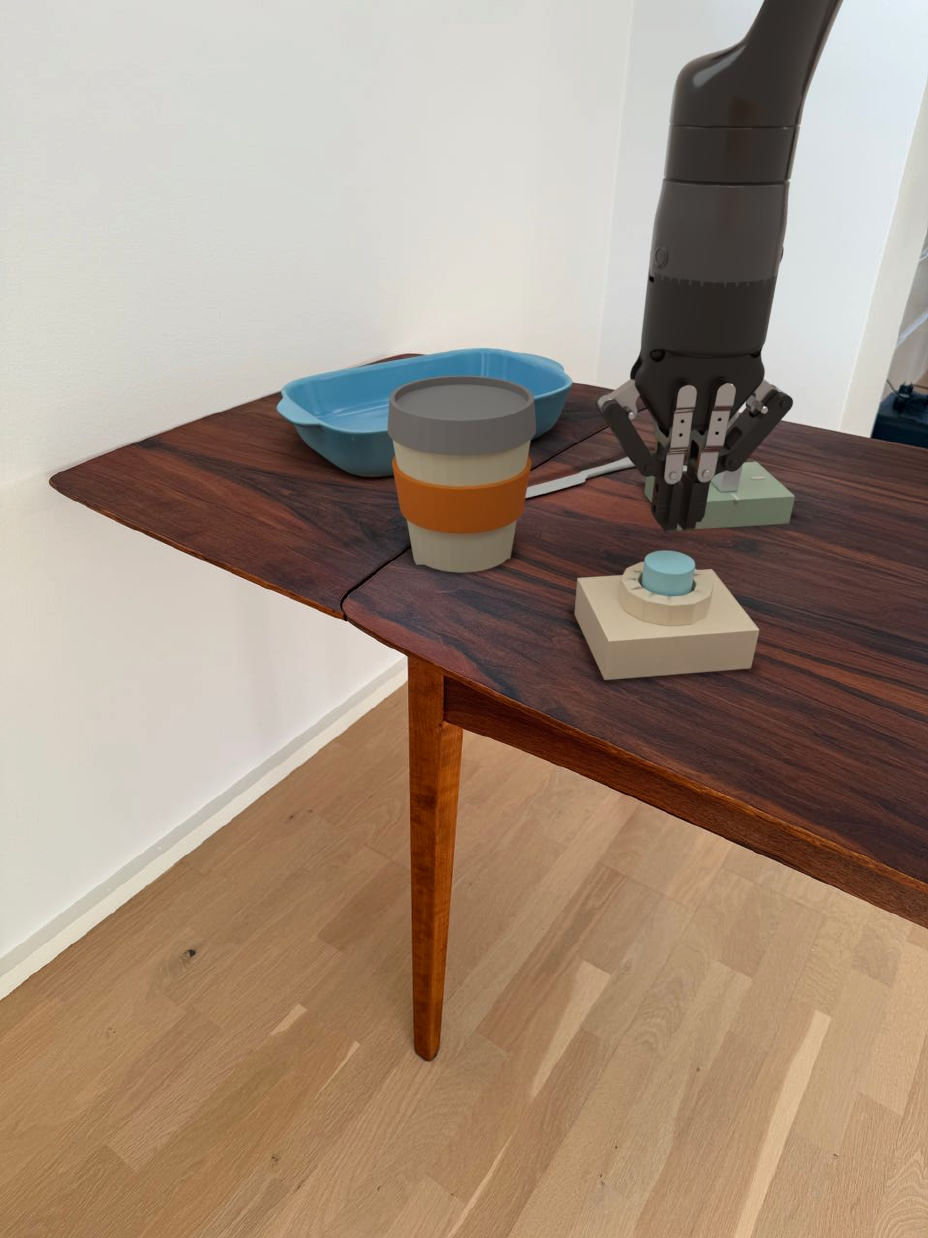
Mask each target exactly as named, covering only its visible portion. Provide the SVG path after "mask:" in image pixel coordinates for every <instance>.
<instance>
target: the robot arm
mask: <svg viewBox="0 0 928 1238" xmlns="http://www.w3.org/2000/svg"><path fill="white" fill-rule="evenodd" d="M762 1H763V2H762V4H761V6H760V7H759V10H758V12H757V15H756V16H755V18H754V20H753V22H752V24H751V25H750V28H749V29H748V31H747V32H746V33H745V35H744V37H743V38H742V39H741V40H740V41H739V42H737V43H734V44H733V45H731V46H729V47H726V48H724V49H721V50H717V51H713V52H711V53H707V54H704V55H701V56H698V57H696V58H694V59H692V60H690V61H689V62H687V63H686V64H684V66H683V67H682V68H681V69H680V71H679V73H678V74H677V77H676V79H675V82H674V85H673V92H672V96H671V103H670V112H669V118H668V119H669V122H668V123H669V125H668V131H667V132H668V133H667V141H666V150H665V159H664V167H663V177H664V178H662V182H661V189H660V192H659V197H658V202H657V205H656V210H655V214H654V219H653V225H652V233H651V234H652V235H651V236H652V237H651V244H650V251H649V252H650V253H649V261H648V262H649V264H648V270H647V271H648V273H647V280H646V281H647V282H646V289H645V300H644V307H643V317H642V318H643V319H642V327H641V337H640V350H639V353H638V356H637V358H636V360H635V362H634V364H633V365H632V367H631V369H630V373H629V379H628V380H627V381H625V382H624V383H623V384H621V385H620V386H618V387H617V388H616V389H614V390H613V391H611V392H608V391H601V392H599V393H598V394H597V395H596V396H595V399H594V405H595V407H596V409H597V410H598V412H599V414H600V415H601V417H602V418H603V420H604V421H605V423H606V424H607V426H608V427H609V429H610V430H611V433H612V434H613V435H614V437H615V438H616V441H617V442H618V443H619V445H620V446H621V448H622V450H623V451H624V453H625V455H626V457H629V459H630V461H631V462H632V463H633V464H634V465H635V466H636V467H635V468H636V469H637V471H638V472H639V473H640V474H641V475H642V476H643V477H644V478H646V477H649V476H654V477H655V480H654V488H653V495H652V496H653V497H652V503H651V502H650V503H651V505H650V512H651V515H652V517H653V519H654V520H655V521H656V522H657V524H658V525H659V526H660V528H662V530H663V532H665V533H669V532H670V533H672V532H677V531H678V530H677V525H679V526H680V527H681V528H682V530H681V531H683V532H686V531H687V532H688V531H695V530H696V529H695V527H696V522H701V521H702V519H703V517H704V516H705V510H706V504H707V498H708V492H709V486H710V482H711V480H712V478H713V477H714V476H715V475H717V474H719V473H721V472H724V471H729V472H734V471H737V470H738V469H739V468H740V467H741V466H742V465H743V463H744V462H746V461H747V460H748V459H749V458H750V457H751V456H752V455H753V453H754V452H755V451H756V450H757V449H758V448H759V446H760V445H761V444H762V443H763V442H764V440H765V439H767V437H768V436H769V435H770V433H771V432H772V431H773V430H774V429H775V428H776V426H777V425H779V423H781V421H782V420H783V419H784V417H785V416H786V415H787V414H788V413H789V412H790V411H791V410H792V408H793V405H794V399H793V397H792V396H790V394H787V393H786V392H784V391H783V390H782V389H780V388H778V387H777V386H776V385H774V384H773V383H772V384H771V383H769V382H768V381H767V380H766V379H765V375H766V370H765V369H766V368H765V365H764V363H763V360H762V351H763V348H764V346H765V343H766V341H767V336H768V331H769V324H770V319H771V315H772V309H773V303H774V297H775V292H776V287H777V280H778V276H779V270H780V265H781V262H782V260H783V258H784V257H783V256H784V252H785V251H784V249H785V248H784V243H785V237H786V232H787V226H788V225H787V224H788V214H789V213H788V212H789V211H788V210H789V195H790V186H791V185H790V184H791V182H790V181H789V180H791V179H792V174H793V169H794V162H795V159H796V153H797V152H796V151H797V147H798V141H799V138H800V137H799V136H800V130H801V123H802V119H803V113H804V107H805V103H806V100H807V96H808V94H809V91H810V87H811V84H812V81H813V79H814V76H815V73H816V71H817V68H818V65H819V63H820V61H821V58H822V55H823V52H824V49H825V47H826V45H827V42H828V39H829V38H830V34H831V31H832V29H833V27H834V24H835V22H836V19H837V17H838V14H839V12H840V10H841V7H842V6H843V2H844V0H762ZM639 398H640V400H641V401H642V404H643V405H644V406H645V408H646V410H648V413H649V414H650V416H651V418H652V419H653V420H654V425H653V436H654V451H651V450H649V448H648V447H647V445H646V443H645V442H644V440H643V439H642V437H641V435H640V434H639V432H638V431H637V429H636V427H635V426H634V423H633V422H632V421H634V420H635V419H636V418H637V416H638V411H639V410H638V407H637V400H638V399H639ZM744 405H745V408H744V409H743V410H742V412H741V413H739V414H738V418H737V419H736V420H735V421H734V422H733V424H732V425H731V426H730V427H729V428H728V430H727V425H728V422H729V421H730V420H731V418H732V417H733V416H734V415H735V414H736V413H737V411H738V410H739V411H740V409H741V408H742V407H743V406H744ZM685 451H687V453H686V457H685V456H684V455H685ZM684 464H685V465H684ZM683 466H687V471H683Z"/></svg>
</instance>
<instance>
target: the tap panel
mask: <svg viewBox="0 0 928 1238" xmlns="http://www.w3.org/2000/svg"><path fill="white" fill-rule="evenodd" d="M683 471H687V466H686V465H683ZM654 480H655V477H654V476H649V477H645V483H644V484H645V485H644V495H645V497H646V498H647V499H648V501H649V502H650V503H652V497H653V496H652V495H653V488H654ZM795 499H796V496H795V494H794V493H792V492H791V491H790V490H789V489H788V488H786V487H785V485H784V484H782V483H781V482H780V481H779V480H778V479H776V477H774V475H772V474H771V473H770V472H769V471H768V470H767V469H765V467H763V466H762V465H761V464H760V463H758V461H747V462H746V461H745V462H744V463H743V466H742V472H741V477H740V482H739V488H738V491H727V492H720V491H719V489H718V488H717V487H716V486H715V485H714V484H713V483H712V482H710V486H709V492H708V498H707V504H706V510H705V516H704V517H703V519H702V521H701V522H696V527H695V530H706V529H722V528H737V527H755V526H757V527H758V526H770V525H785V524H790V521H791V518H792V517H791V516H792V514H793V513H792V512H793V508H794V504H795ZM676 531H683V530H682V528H681V527H680V526H679V525H677V530H676Z"/></svg>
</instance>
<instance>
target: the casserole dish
mask: <svg viewBox="0 0 928 1238" xmlns="http://www.w3.org/2000/svg"><path fill="white" fill-rule="evenodd" d="M456 375H469V376H484V377H492V378H499V379H503V380H508V381H512V382H514V383H517V384H520V385H522V386H524V387H526V388H527V389H529V390H530V391H531V392H532V394H533V396H534V406H535V421H536V432H535V435H534V436H533V438H532V439H531V440H530V441H532V440H535V439H537V438H539V437H541V436H542V435H543V434H545V433H547V432H548V431H550V430H551V429H552V428H553V427H554V426H555V424H556V423H557V422H558V420H559V419H560V417H561V414H562V413H563V409H564V407H565V404H566V402H567V400H568V399H567V398H568V396H569V393H570V390H571V388H572V387H573V383H574V381H573V379H572V377H571V376H570V375H569V374H567V373H566V372H565V368H564V365H562V364H561V363H559V362H558V361H556V360H553V359H551V358H548V357H545V356H542V355H538V354H533V353H526V352H518V351H511V350H508V349H501V348H493V347H492V348H491V347H490V348H489V347H472V348H471V347H470V348H464V349H463V348H461V349H453V350H448V351H442V352H441V351H440V352H435V353H431V354H430V353H429V354H423V355H418V356H413V357H406V358H402V359H395V360H390V361H385V362H384V361H383V362H378V363H372V364H367V365H360V366H355V367H349V368H343V369H338V370H333V371H328V372H322V373H317V374H313V375H308V376H304V377H301V378H297V379H294V380H292V381H290V382H288V383H286V384H284V385H283V387H282V388H281V390H280V394H281V397H282V399H280V401H279V402H278V404H277V405H276V411H277V413H278V415H280V416H281V417H282V418H283V419H284V420H286V421H287V422H289V423H290V424H292V425H294V428H295V430H296V432H297V434H298V435H299V437H300V438H301V439H302V441H303V442H304V443H305V444H306V445H307V446H308V447H310V448H311V449H312V450H313V451H315V452H316V453H318V454H319V455H321V456H322V458H324V459H326V460H327V461H328V462H330V463H331V464H333V465H334V466H336V467H338V468H339V469H341V470H343V471H345V472H346V473H347V474H350V475H354V476H357V477H361V478H362V477H363V478H382V477H383V478H384V477H391V476H394V472H393V466H392V461H393V458H394V456H395V450H394V445H393V439H391V438H390V436H389V434H388V413H389V396H390V394H391V393H392V391H394V390H395V389H396V388H398V387H400V386H402V385H404V384H406V383H409V382H412V381H416V380H421V379H425V378H432V377H440V376H456Z"/></svg>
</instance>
